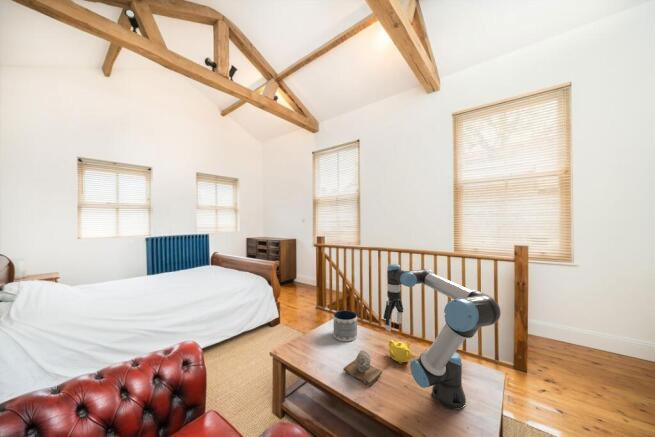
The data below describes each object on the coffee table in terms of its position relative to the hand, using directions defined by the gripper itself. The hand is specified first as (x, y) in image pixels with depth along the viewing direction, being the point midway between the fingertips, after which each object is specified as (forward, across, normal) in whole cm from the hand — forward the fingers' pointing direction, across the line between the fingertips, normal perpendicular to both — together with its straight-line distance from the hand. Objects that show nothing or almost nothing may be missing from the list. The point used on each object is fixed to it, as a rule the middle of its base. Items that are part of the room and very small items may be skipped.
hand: (393, 326), depth 141 cm
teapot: (+27, -14, -3) cm, 31 cm away
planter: (+27, -14, -48) cm, 57 cm away
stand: (+27, +15, -12) cm, 33 cm away
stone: (+24, +15, -12) cm, 31 cm away
